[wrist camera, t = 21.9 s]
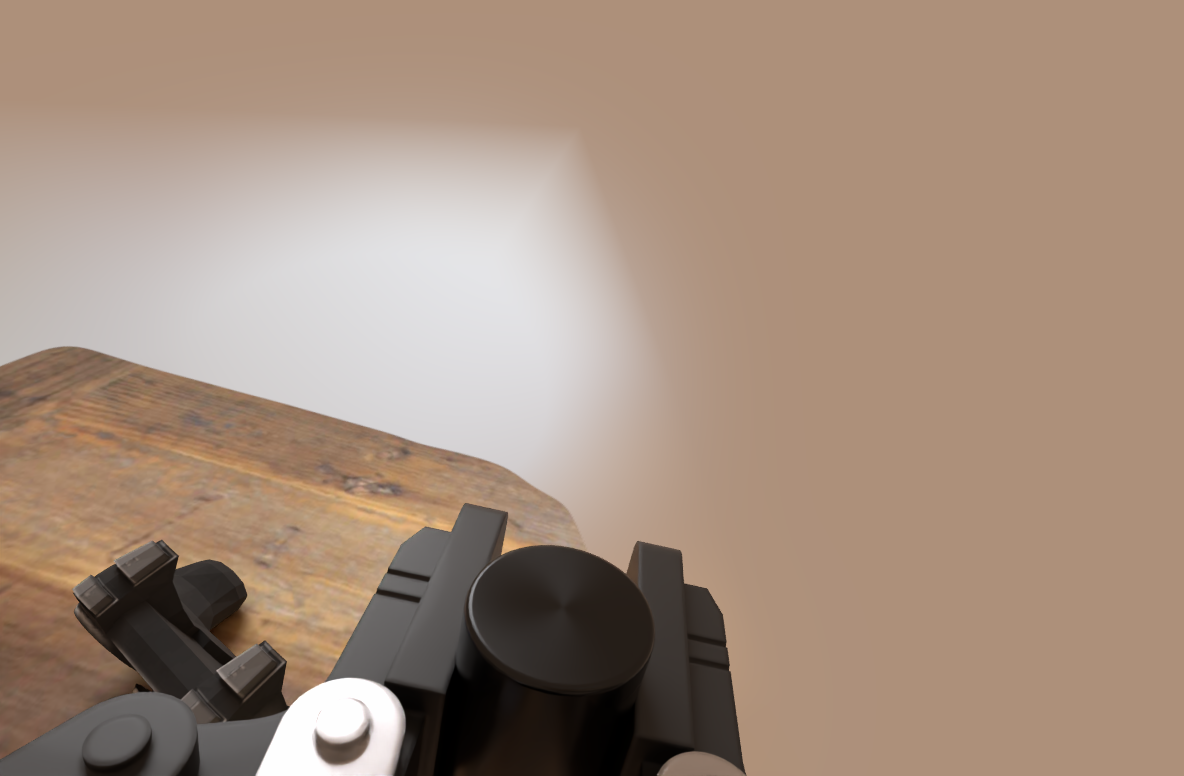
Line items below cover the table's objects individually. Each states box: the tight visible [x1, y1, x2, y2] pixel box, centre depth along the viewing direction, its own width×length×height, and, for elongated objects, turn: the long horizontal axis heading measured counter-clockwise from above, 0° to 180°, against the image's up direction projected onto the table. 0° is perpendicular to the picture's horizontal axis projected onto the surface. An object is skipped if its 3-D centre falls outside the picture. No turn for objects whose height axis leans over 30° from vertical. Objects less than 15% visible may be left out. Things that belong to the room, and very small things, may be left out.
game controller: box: [72, 540, 290, 724], centre depth 31 cm, size 16×7×10 cm, turn 55°
